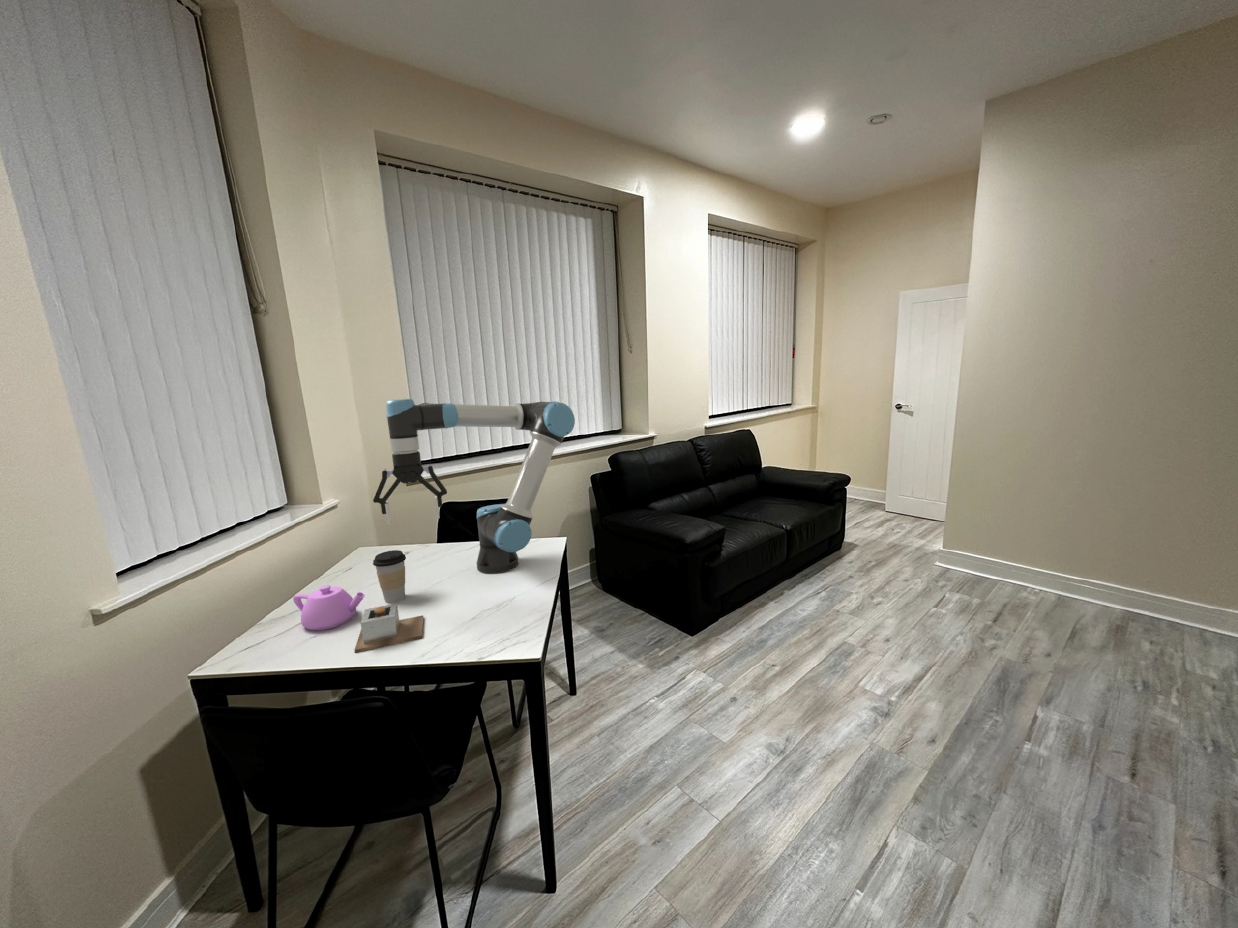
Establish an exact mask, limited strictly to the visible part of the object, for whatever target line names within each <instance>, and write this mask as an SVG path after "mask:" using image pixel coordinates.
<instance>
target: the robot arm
mask: <svg viewBox="0 0 1238 928" xmlns="http://www.w3.org/2000/svg"><path fill="white" fill-rule="evenodd" d="M385 403H386V404H385V405H386V406H385V407H386V419H387V420H386V421H387V426H388V433H389V441H390V443H389V444H390V450H391V452H392V454H391V457H392V463H393V464H392V465H393V469H387V468H384V469H383V470H382V472H381V480H380V483H379V485H378V488H377V490H376V492H375V494H374V498H373V500H372V501H373V503H375V504H380V509H381V514H382V515H385V516H386V522H387V526H391V525H392V517H391V508H390V502H389V501H388V500H389V498H390V497H391V495H392V494H393V492H394V491H395V489H397V487H398V486H399V485H400V483H402V484H409V483H411V484H413V483H416V482H419V483H420V484H421V485H423V486H424V487H425V488H426V489H428V490H429V491H430V492H431V493H432V494H433V495H435V496H434V502H435V503H434V507H435V513H436V514H435V516H436V519H437V520H438V519H440V510H439V509H440V508H442V507H443V501H442V500H443V498H442V497H443V496H444V495H447V493H448V490H447V488H446V487H445V485H444V484H443V482H442V481H441V480H440V478H439V477H438V476H437V474H436V473H435V470H434V467H433V465H432V464H429V465H427V466H422V459H421V452H420V451H419V449H420V443H419V435H418V431H424V430H438V429H449V428H455V427H459V428H460V427H461V428H463V427H468V428H469V427H474V428H476V427H478V428H479V427H481V428H482V427H484V428H486V427H487V428H491V427H492V428H514V429H515V430H517V431H519V430H520V431H521V430H522V431H529V434H530V437H531V440H530V444H529V445H528V448H527V451H526V453H525V456H524V459H523V461H522V463H521V466H520V468H519V471H518V474H517V477H516V478H515V481H514V484H513V487H512V489H511V491H510V494H509V495H508V496H509V497H508V499H507V501H506V503H499V504H492V505H491V504H490V505H486V506H482V507H480V508H478V509H477V511H476V521H477V530H478V539H479V540H478V542H479V550H478V554H477V560H476V569H477V571H478V572H480V573H482V574H500V573H505V572H509V571H511V570H513V569H515V568H516V567H518V565H519V564H520V561H519V555H518V553H517V552H519V551H522V550H523V549H524V548H526V547H527V545H528V544H529V543H530V541H531V539H532V536H533V535H532V533H533V532H532V529H531V524H532V521H533V518H534V517H533V515H532V512H531V511H532V508H533V505H534V503H535V500H536V498H537V495H538V493H539V490H540V487H541V485H542V483H543V481H544V477H545V475H546V472H547V469H548V467H549V465H550V462H551V460H552V457H553V454H554V452H555V449H556V448H557V447H559V446H561V445H562V443H563V440H564V439H565V437H566V436H568V435H569V434H570V433H572V431H573V429H574V428H575V424H576V423H575V422H576V418H575V414H574V412H573V409H571V407H570V406H569V405H568V404H565V402H564V403H563V402H559V401H538V402H530V403H529V402H526V403H516V404H515V405H492V404H491V405H489V404H487V405H483V404H461V403H459V404H457V403H450V402H449V403H446V402H443V403H428V402H422V403H419V404H416V403H415V402H414V399H412V398H405V399H404V398H403V399H402V398H401V399H400V398H399V399H389V400H387V401H386V402H385ZM424 472H425V473H426V474H429V475H430V478H431V479H432V480H433V481H434V483H435V485H437V487H438V489H439V490H440V491H439V490H438V489H437V488H436V487H435V486H433V484H431V483H430V482H429V481H428V480H427V479H426V478H425V477H424V476H422V475H423V473H424ZM391 475H393V476H394V477H395V478H396V479H395V480H394V482H393V483H392V485H391V486H390V487H389V489H388V490H387V492H385V494H384V495H383V497H381V495H382V492H383V489H384V488H385V484H386V482H387V480H388V478H390V477H391Z"/></svg>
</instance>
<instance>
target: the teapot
mask: <svg viewBox="0 0 1238 928" xmlns="http://www.w3.org/2000/svg"><path fill="white" fill-rule="evenodd" d="M364 598H365V594H364V593H363V592H361V591H360V592H357V593H356V595H355V596H354V597H352V595H351V594H350V593H348V592H347V590H345V589H344V588H342V587H340V586H337V585H336V586H335V585H334V586H331V585H330V584H327V585H323V586H321V587H319V588H318V589H317V590H314V591H313V592H312V593H311V594H305V593H303V594H302V593H298V594H295V595H294V596H293V599H292V600H293V603H294V605H295V606H296V607H297V609H299V610H300V611H301V614H300V623H301V625H302V626H303V627H304V628H306V629H308V630H311V631H326V630H329V629H334V628H336V627H337V628H338V627H339V626H341V625H343V624H345V623H347V622H348V621H350V619H352V617H353V616H354V614H355V613H356V611H357V607H358V606H359V605H360V603H361V602H362V601H363V600H364ZM302 599H306V601H305V602H304V603H303V602H302Z"/></svg>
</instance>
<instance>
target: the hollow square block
mask: <svg viewBox="0 0 1238 928" xmlns="http://www.w3.org/2000/svg"><path fill="white" fill-rule="evenodd" d="M379 607H385V615H386V616H381V617H375V613H374V610H375V609H377V608H379ZM399 620H400V616H399V609H398V603H390V604H386V605H383V606H382V605H381V606H377V607H371V608H366V609H364V611H363V615H362V617H361V621H360V630H361V629H362V635H363V642H364V644H367V643H371V642H376V641H381V640H386V639H390V638H395V637H397V636H398V630H399V624H400V621H399Z"/></svg>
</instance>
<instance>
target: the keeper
mask: <svg viewBox="0 0 1238 928" xmlns="http://www.w3.org/2000/svg"><path fill="white" fill-rule="evenodd" d="M378 607H379V608H377V609H375V610H374V613H375V617H381V616H386V615H385V607H381V606H378ZM399 621H400V624H399V630H398V636H397V637H395V638H390V639H386V640H381V641H376V642H371V643H367V644H364V642H363V635H362V629H361V628H360V631H359V634H358V637H357V642H356V644H355V648H354V653H360V652H365V651H369V650H374V649H379V648H383V647H388V646H393V645H397V644H401V643H407V642H411V641H415V640H420V639H423V633H424V632H423V631H424V615H418V616H412V617H409V618H403V619H399Z"/></svg>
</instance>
